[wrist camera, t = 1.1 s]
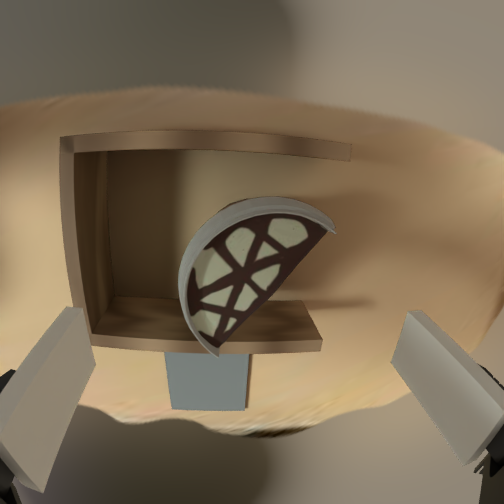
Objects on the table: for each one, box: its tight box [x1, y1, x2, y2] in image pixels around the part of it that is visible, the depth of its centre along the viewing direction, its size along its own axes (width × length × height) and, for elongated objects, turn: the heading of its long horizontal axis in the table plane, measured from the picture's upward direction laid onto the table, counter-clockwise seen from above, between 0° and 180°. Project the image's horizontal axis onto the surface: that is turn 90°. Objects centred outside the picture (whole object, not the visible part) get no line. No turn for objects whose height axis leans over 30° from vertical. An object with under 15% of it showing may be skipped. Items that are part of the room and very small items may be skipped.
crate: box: [59, 130, 352, 354], centre depth 24 cm, size 20×16×7 cm
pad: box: [165, 352, 249, 411], centre depth 32 cm, size 9×14×1 cm, turn 176°
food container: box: [178, 197, 337, 358], centre depth 23 cm, size 12×6×10 cm, turn 139°
